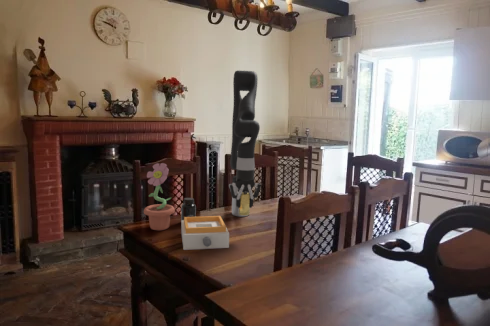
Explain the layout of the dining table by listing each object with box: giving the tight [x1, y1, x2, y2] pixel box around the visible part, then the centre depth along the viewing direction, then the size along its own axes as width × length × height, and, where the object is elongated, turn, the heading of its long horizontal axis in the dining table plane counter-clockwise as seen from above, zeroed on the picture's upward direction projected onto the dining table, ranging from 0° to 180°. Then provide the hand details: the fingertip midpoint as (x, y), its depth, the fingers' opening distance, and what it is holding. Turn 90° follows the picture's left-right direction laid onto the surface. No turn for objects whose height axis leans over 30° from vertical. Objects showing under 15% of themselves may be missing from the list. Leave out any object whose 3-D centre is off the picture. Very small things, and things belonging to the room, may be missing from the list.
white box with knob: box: [180, 215, 230, 251], centre depth 158 cm, size 23×18×8 cm
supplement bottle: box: [180, 197, 197, 221], centre depth 182 cm, size 7×7×12 cm
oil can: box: [239, 190, 251, 216], centre depth 161 cm, size 5×5×10 cm
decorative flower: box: [143, 162, 176, 231], centre depth 172 cm, size 15×14×30 cm
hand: (244, 207), depth 162 cm, fingers closed on oil can, 4 cm apart
